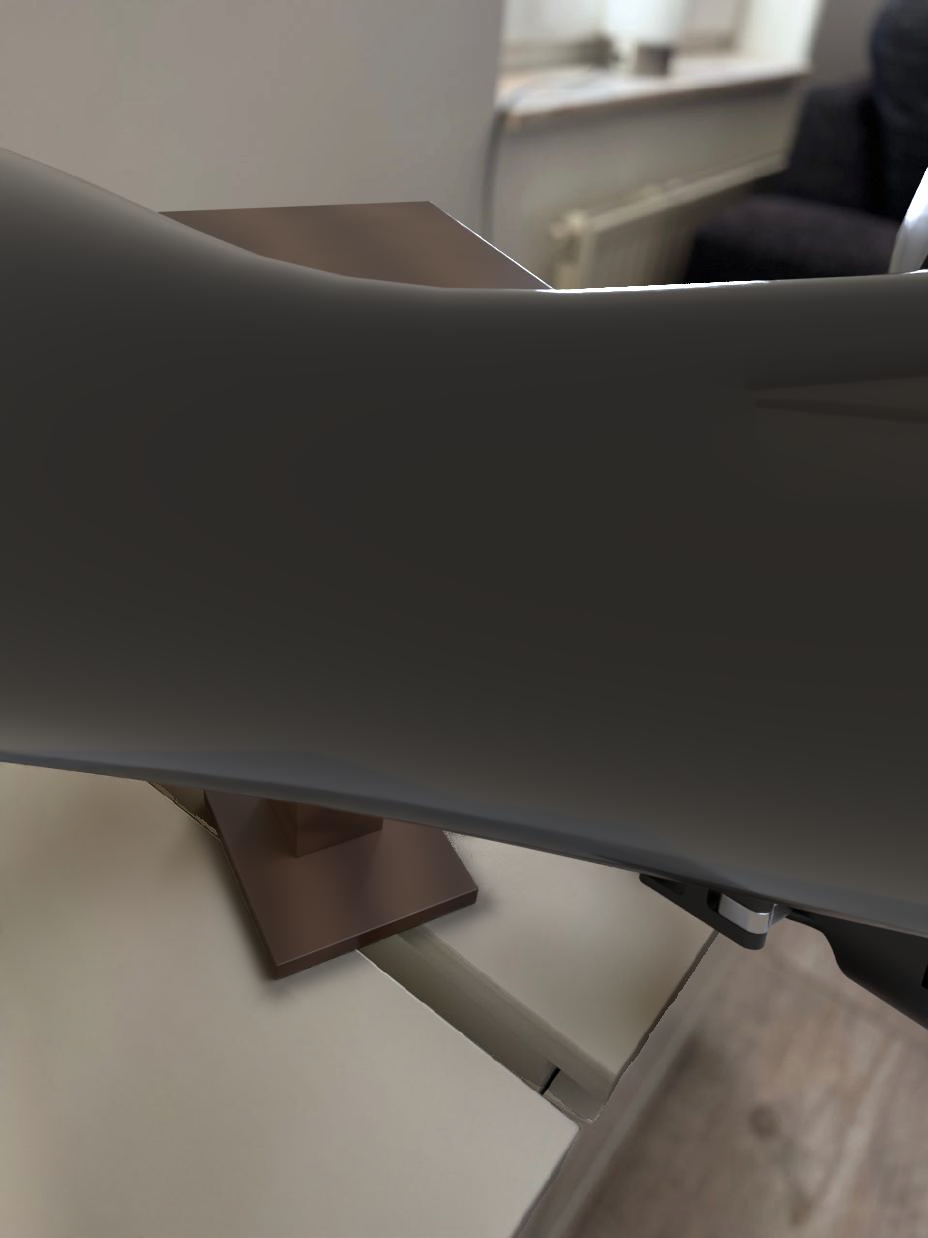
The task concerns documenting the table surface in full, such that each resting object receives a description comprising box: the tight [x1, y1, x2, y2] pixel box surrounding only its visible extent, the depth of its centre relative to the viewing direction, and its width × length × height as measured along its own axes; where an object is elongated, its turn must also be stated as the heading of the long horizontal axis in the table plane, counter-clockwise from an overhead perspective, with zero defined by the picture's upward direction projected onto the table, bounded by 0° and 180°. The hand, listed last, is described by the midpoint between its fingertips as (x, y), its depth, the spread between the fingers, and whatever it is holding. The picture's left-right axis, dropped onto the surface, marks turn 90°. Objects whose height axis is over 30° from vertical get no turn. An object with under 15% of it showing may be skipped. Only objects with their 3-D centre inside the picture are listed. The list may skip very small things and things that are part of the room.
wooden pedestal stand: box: [156, 200, 555, 980], centre depth 43 cm, size 11×12×32 cm
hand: (671, 770), depth 49 cm, fingers open, 8 cm apart
